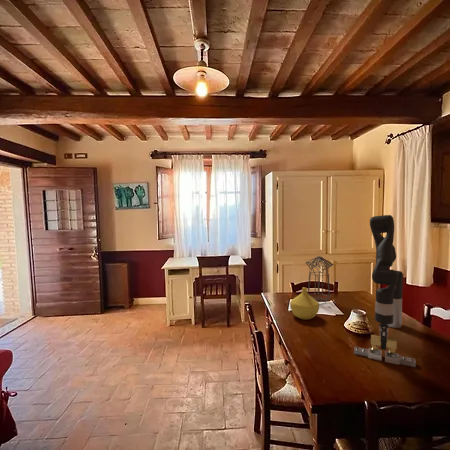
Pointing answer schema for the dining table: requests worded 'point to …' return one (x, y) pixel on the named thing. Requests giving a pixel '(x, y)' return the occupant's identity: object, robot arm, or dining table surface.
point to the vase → (304, 305)
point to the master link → (390, 343)
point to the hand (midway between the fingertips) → (383, 347)
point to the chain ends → (388, 357)
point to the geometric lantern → (319, 276)
